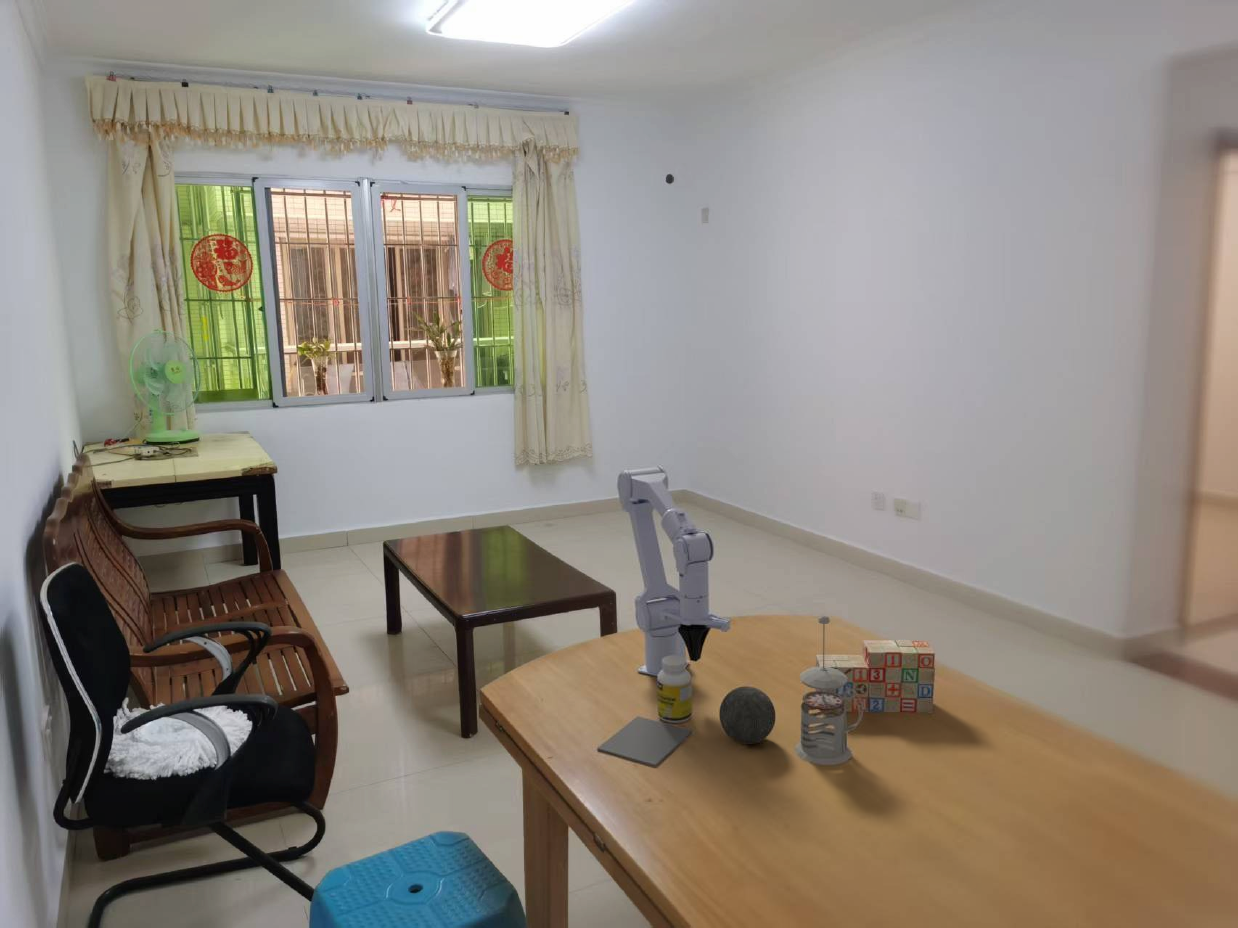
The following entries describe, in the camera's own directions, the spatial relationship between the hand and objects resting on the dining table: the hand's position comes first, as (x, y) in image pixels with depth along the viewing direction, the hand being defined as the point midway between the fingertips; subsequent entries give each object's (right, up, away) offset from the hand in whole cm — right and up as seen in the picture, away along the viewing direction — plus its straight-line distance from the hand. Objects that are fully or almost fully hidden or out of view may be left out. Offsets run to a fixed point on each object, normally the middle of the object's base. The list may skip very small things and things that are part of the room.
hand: (695, 659), depth 177 cm
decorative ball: (+8, -11, -16) cm, 21 cm away
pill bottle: (-4, -10, -6) cm, 12 cm away
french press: (+22, -12, -21) cm, 32 cm away
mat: (-10, -12, -15) cm, 21 cm away
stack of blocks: (+34, -8, -3) cm, 35 cm away
